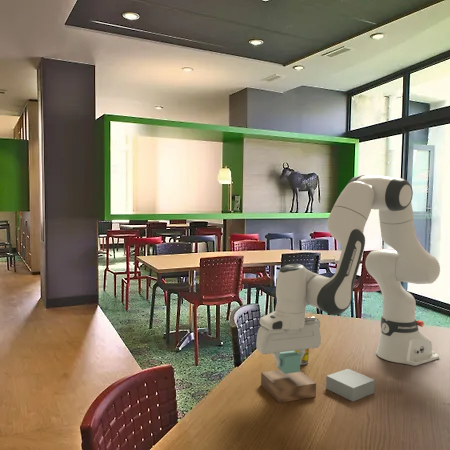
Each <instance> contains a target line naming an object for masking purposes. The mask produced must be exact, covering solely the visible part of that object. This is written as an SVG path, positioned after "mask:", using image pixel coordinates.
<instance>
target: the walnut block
mask: <svg viewBox="0 0 450 450" xmlns="http://www.w3.org/2000/svg"><path fill="white" fill-rule="evenodd" d="M260 386H262V388H263V389H264V390H266V391H267V393H268V394H270V396H272V398H273V399H275V401H277V403H280V404H281V403H286V402H287V403H288V402H292V401H293V402H294V401H298V400H303V399H309V398H315V397H317V383H316V381H313V379H311V378H310V377H309V376H307V375H306V374H304V372H302V371H301V370H300V372H295V373H288V374H284V373H283V372H282V371H281V370H280V369H275V370H270V371H263V372H262V371H261V374H260Z"/></svg>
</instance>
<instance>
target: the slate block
mask: <svg viewBox="0 0 450 450" xmlns="http://www.w3.org/2000/svg"><path fill="white" fill-rule="evenodd" d="M325 381H326V382H325V389H326V390H327V391H330V392H333V393H335V394H336V395H339V396H340V397H342V398H344V399H347V400H349V401H350V402H355V401H357V400H360V399H364V398H365V397H368V396H371V395H372V394H375V384H376V383H375V382H376V381H375V379H373V378H372V377H369V376H366V375H364V374H362V373H359V372H357V371H355V370H352V369H351V368H345V369H342V370H340V371H336V372H333V373H330V374H327V375H326V380H325Z"/></svg>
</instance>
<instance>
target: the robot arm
mask: <svg viewBox="0 0 450 450" xmlns="http://www.w3.org/2000/svg"><path fill="white" fill-rule="evenodd" d="M413 194H414V191H413V188H412V185H411V184H410V183H409V181H408V180H406V179H404V178H402V177H391V176H387V175H363V174H362V175H356V176H354V177H352V178H351V179H350V180H349V181H348V182H347V184H346V186H345V187H344V188H343V190H342V191H341V192H340V194H339V196H337V197H338V198H337V199H336V201H335V203H334V205H333V207H332V209H331V211H330V214H329V216H328V218H327V223H326V225H327V230H328V232H329V234H330V235H331V237H333V238H334V240H336V241H337V242H338V243H339V244H340V246H341V252H340V254H339V255H340V257H339V259H338V261H337V266H336V268H335V272H334V274H333V276H331V277H328V276H324V275H322V274H319V273H316V272H313V271H311V270H309V269H307V268H306V267H305V266H304V265H303V264H300V263H290V264H288V263H287V264H285V265H283V266H281V267H280V268H279V270H278V272H277V276H276V283H275V297H276V305H275V310H274V311H272V312H270V313H268V314H266V315H263V316H262V317H260V318H259V324H260V325H261V326H259V328H258V330H257V335H256V342H255V343H256V345H255V347H256V350H257V351H258V352H259V353H261V354H262V355H268V354H272V356H273V358H274V359H275V366H276V368H277V367H279V366H283V364H282V363H283V361H282V360H281V359H279V357H278V356H280V352H287V351H295V350H298V351H299V353H298V354H299V355H301V356H300V364H301V363H302V357H303V356H304V354H305V350H306V349H309V350H310V349H318V348H320V346H321V344H322V340H321V339H322V338H321V337H322V336H321V329H320V328H321V320H320V318H318V317H316V316H309V317H308V316H306V307H307V306H309V305H310V306H311V307H314V308H316V309H317V310H321V311H322V312H324V313H326V314H327V315H330V316H339V315H341V314H342V313H344V312H345V311H347V310H348V309H349V307H350V306H351V303H352V299H353V293H354V292H353V290H354V285H355V282H356V278H357V274H358V271H359V268H360V265H361V261H362V257H363V253H364V251H365V247H366V237H365V235H364V231H365V227H366V224H367V221H368V219H369V216H370V213H371V211H372V210H378V216H379V217H378V218H379V227H380V235H381V239H382V240H383V242H384V243H385V244H386V245H388V246H389V247H391V248H392V249H393V250H392V249H375V250H374V249H373V250H371V251H370V252H369V253H368V255H367V256H366V258H365V262H364V263H365V269H366V271H367V273H368V274H369V275H370V276H371V277H372V279H374V280H375V282H376V283H377V285H378V287H379V289H380V293H381V296H382V315H381V317H380V318H381V319H380V328H381V329H380V335H379V340H378V345H377V349H376V352H375V355H376V356H378V357H379V358H381V359H383V360H385V361H387V362H388V361H389V362H392V363H397V364H406V365H409V366H419V365H422V364H425V363H428V362H432V361H435V360H439V359H440V355H439V354H438V353H437V352H435V351H434V350H433V343H432V340H431V339H430V338H429V337H428V336H427V335H425V334H424V333H423V332H421V331H420V330H419V327H421V328H422V327H424V325H425V322H424V321H423V320H419V319H418V320H417V319H416V307H417V306H416V305H417V304H416V303H417V302H416V299H415V297H414V295H413V294H411V293H410V292H409V291H408V290H406V289H405V288H404V287H403V285H402V282H403V283H408V284H409V283H410V284H416V285H425V284H427V285H428V284H433V283H434V282H436V281H437V279H438V278H439V276H440V273H441V265H440V263H439V261H438V259H437V258H436V257H435V256H433V254H431V253H429V252H428V251H427V250H426V249H425V248H424V247H423V246H422V244H421V242H420V241H419V239H418V237H417V233H416V229H415V228H416V227H415V219H414V213H413V212H414V211H413V204H412V200H413Z"/></svg>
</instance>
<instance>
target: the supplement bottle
mask: <svg viewBox="0 0 450 450" xmlns="http://www.w3.org/2000/svg"><path fill="white" fill-rule="evenodd" d="M295 352H296V353H299V351H298V350H295ZM309 353H310V349H306V350H305V354H304V356H303V357H302V363H301V364H300V366H304V365H307V364H308V363H309V358H310V357H309Z"/></svg>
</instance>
